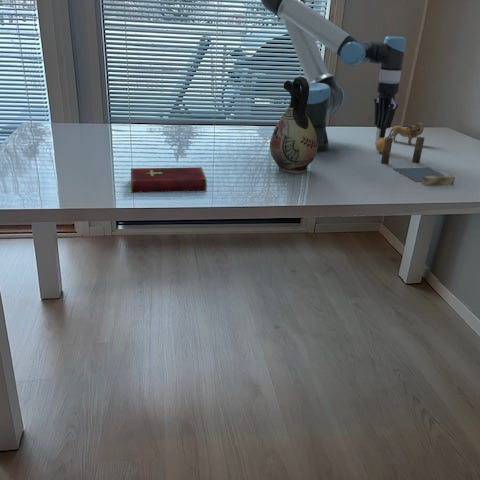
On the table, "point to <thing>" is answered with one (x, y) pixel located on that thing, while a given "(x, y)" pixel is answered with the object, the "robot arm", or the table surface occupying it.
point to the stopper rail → (438, 180)
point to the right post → (418, 149)
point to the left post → (386, 150)
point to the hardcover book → (168, 179)
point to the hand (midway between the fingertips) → (379, 145)
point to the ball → (380, 145)
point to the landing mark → (418, 173)
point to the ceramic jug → (294, 132)
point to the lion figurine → (407, 132)
